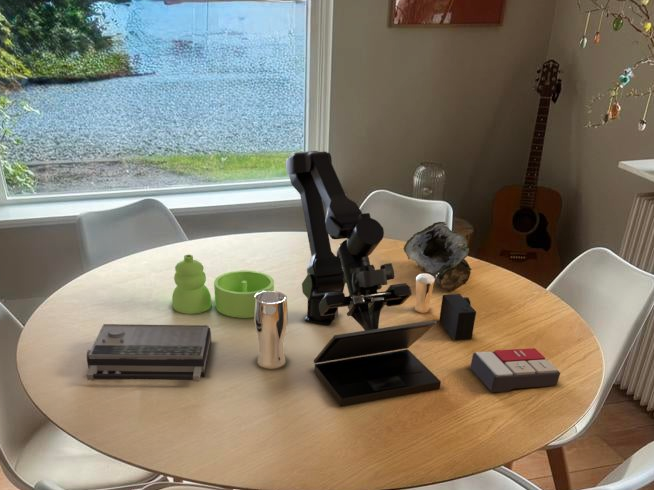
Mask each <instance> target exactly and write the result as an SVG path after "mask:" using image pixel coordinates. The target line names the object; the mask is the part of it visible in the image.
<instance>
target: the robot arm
mask: <svg viewBox="0 0 654 490" xmlns="http://www.w3.org/2000/svg"><path fill="white" fill-rule="evenodd" d="M332 161H333V160H332V155H331V153H330V152H327V151H319V150H308V151H307V150H306V151H294V152H293V151H292V152H291V153H290V155H289V157H287V158H286V159H285V169H286V173H287V174H288V176H289V180H290V184H291V186H292V187H293V188H294V189H295V190H296V192H297V193H298V194H299V195H300V201H301V206H302V211H303V218H304V222H305V228H306V234H307V239H308V246H309V251H310V256H311V257H310V260H309V262H308V265H307V267H306V276H305V278H304V280H303V281H302V283H301V291H302V294H303V295H304V296H305V297H306V298H307V316H306V317H304V321H305V322H307V323H314V324H319V325H325V326H331V325H332V324H333V322H334V321H335V320H336V319H337V318H338V316H339V308H344V307H347V309H348V311H347V313H346V316H347V317H351V318H353V319H354V320H355V322H357V323H358V325H360V327H361V328H362V329H363V331H366V330H372V329H379V326H380V316H381V312H382V309H383V308H384V307H385V306H386V307H388V308H390V307H396V306H397V307H398V306H401V305H403V304H404V303H405V302H406V301H407V300H408V299H409V298H410V297H411V296H412V295H413V293H412V289H411V286H410V285H409V284H408V283H406V282H402V283H396V284H395V283H394V284H390V285H389V286H388V288H386V290H385V291H379V290H381V289H382V288H383V286H387V285H388V281H390V280H391V281H392V280H395V269H394V266H393V263H391V262H389V263H382V264H380V266H379V267H380V268H378V269H376V268H375V266H374V264H371V262H370V261H371V260H370V258H369V256H371V255H372V254H373V252H374V251H375V249H377V247H378V246H379V244H380V243H381V242H382V240H383V239H384V235H385V230H384V227H383V226H382V225H381V223H380V222H379V221H378V220H377V219H374V218H372V217H371V214H370V212H365V213H363V212H362V209H360V207H359V206H358V204H357V203H356V202H355V201H354V200H351V199H350V198H348V196H347V194H346V192H345V189H344V188H343V185H342V183H341V181H340V179H339V176H338V174H337V172H336V170H335V167H334V165H333V162H332ZM325 210H326V213H325ZM330 239H332V240H343V241H342V242H340V243H339V246H338V248H337V250H336V255H335V253H334V252H333V251H332V247H331V240H330ZM345 285H346V288H347V291H348V296H346V294H345V293H344V291H345V290H344V289H345Z"/></svg>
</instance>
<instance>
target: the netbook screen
mask: <svg viewBox="0 0 654 490" xmlns="http://www.w3.org/2000/svg"><path fill="white" fill-rule="evenodd" d="M435 325H437V320H436V319H433V320H426V321H421V322H412V323H407V324H400V325H392V326H386V327H380V328H379V327H378V329H372V330H366V331H365V330H360V331H353V332H346V333H339V334H334V335H333V336H332V337H331V338H330V340H329V341H328V342H327V343H326V345H325V346H324V347H323V348H322V350H321V351H320V352H319V353H318V354H317V356H316V357H315V358H314V359H313V364H319V363H325V362H331V361H337V360H344V359H350V358H356V357H362V356H368V355H375V354H381V353H387V352H393V351H399V350H406V349H409V348H410V347H412V345H413V344H415V343H416V342H417V341H418V340H419V339H421V337H423V336H424V335H425V334H427V332H429V331H430V330H431V329H432V328H433V327H434V326H435Z"/></svg>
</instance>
